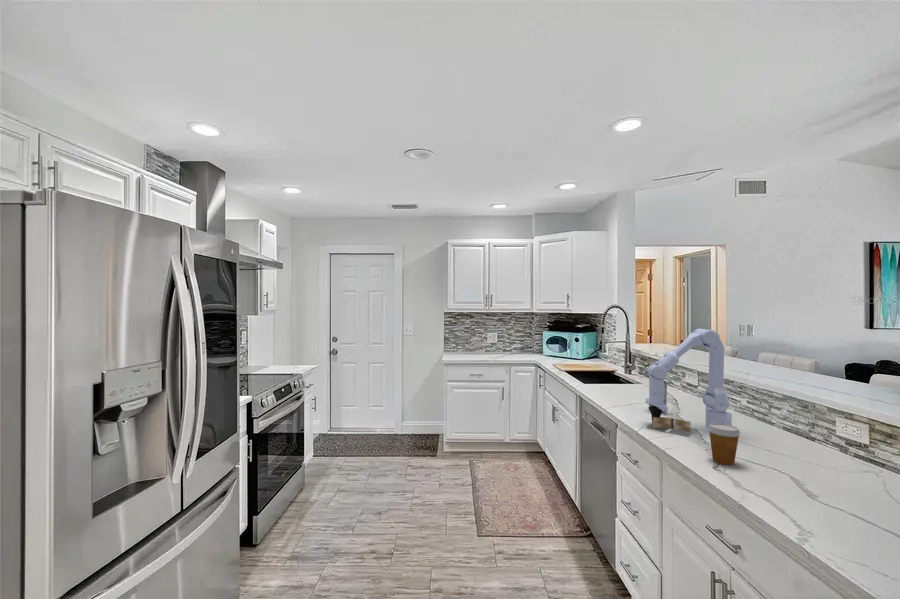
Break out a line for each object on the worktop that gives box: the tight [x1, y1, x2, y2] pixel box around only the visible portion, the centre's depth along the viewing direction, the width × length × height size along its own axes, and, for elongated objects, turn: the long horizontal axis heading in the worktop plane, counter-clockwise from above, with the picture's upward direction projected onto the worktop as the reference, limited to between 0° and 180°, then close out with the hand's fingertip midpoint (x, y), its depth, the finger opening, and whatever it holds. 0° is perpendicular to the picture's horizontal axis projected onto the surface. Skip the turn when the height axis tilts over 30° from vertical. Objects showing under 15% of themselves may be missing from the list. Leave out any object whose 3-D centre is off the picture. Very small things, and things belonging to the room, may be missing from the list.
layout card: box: [645, 422, 699, 438], centre depth 184 cm, size 17×15×1 cm
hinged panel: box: [653, 416, 675, 428], centre depth 185 cm, size 8×2×4 cm, turn 88°
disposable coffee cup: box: [708, 423, 741, 466], centre depth 148 cm, size 10×10×12 cm
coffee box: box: [648, 378, 668, 416], centre depth 215 cm, size 9×6×16 cm
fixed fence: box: [674, 418, 692, 432], centre depth 182 cm, size 6×1×4 cm, turn 48°
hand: (655, 423), depth 186 cm, fingers closed, pressing on hinged panel
